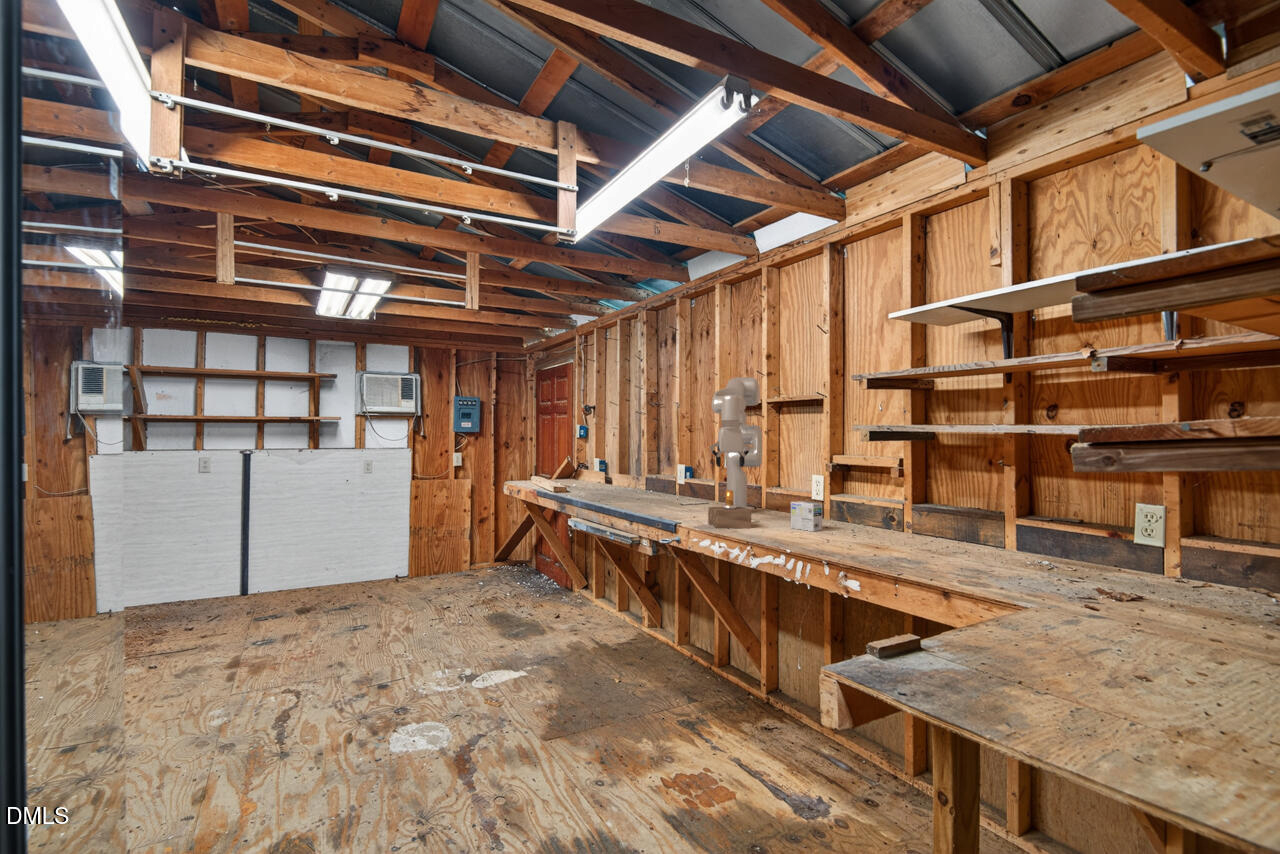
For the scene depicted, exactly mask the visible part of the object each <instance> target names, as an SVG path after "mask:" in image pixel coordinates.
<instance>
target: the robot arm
mask: <svg viewBox="0 0 1280 854" xmlns="http://www.w3.org/2000/svg"><path fill="white" fill-rule="evenodd" d="M760 393H761V391H760V385H759V381H758V380H757V378H755V377H752V376H749V377H746V376H745V377H744V376H743V377H742V376H741V377H739V376H736V377H732V378H731V379H729V380H728V381H727V383H726V387H723V388H721V389H719V390H716V391H715V392H714V393H713V396H712V400H711V410H712V411H713V413H714V414H721V415H720V420H721V422H720V424H721V425H720V428H719V429H718V432H717V442H715V443H714V444H712V445H710V446H709V450H710V451H711V453H712V454H713V456H714V457H715V465H716V467H717V468H720V467H721V463H722V461H721V460H722V457H721V455H722V454H723V453H724V457H725V464H726V466H725V467H726V490H733V505H736V507H743V508H745V509H748V505H747V503H748V492H747V491H748V476H747V474H746V472H745V471H744V470H743V469H742V468H759V467H761V465H762V463H763V431H762V428H761V426H760V425H757V424H747V418H748V417H747V413H746V412H745V410H746V407H747V406H750V407H751V406H752V407H753V406H757V405H759V403H760V400H761V394H760ZM715 448H716V450H717V451H716V450H715Z"/></svg>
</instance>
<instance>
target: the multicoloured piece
mask: <svg viewBox="0 0 1280 854" xmlns="http://www.w3.org/2000/svg"><path fill="white" fill-rule="evenodd" d="M722 507H723V509H726V510H735V509H736V505H733V490H727V489H726V490H725V504H722Z"/></svg>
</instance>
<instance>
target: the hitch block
mask: <svg viewBox="0 0 1280 854" xmlns="http://www.w3.org/2000/svg"><path fill="white" fill-rule="evenodd" d="M707 508H708V510H707V511H708V512H707V513H708V516H707V517H708V519H707V521H708V522H707V524H708V525H710V526H712V525H713V526H715V527H716V528H715V527H714V528H715V529H717V528H735V529H752V510H751V509H748V508H747V509H745V508H743V507H736V509H735V510H726V509H723V506H708V507H707ZM713 526H712V527H713Z"/></svg>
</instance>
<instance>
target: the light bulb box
mask: <svg viewBox="0 0 1280 854" xmlns="http://www.w3.org/2000/svg"><path fill="white" fill-rule="evenodd" d="M791 528H794V529H793V530H798V529H801V530H800V531H805V530H808V532H812V531H814V532H818V530H820V531H822V530H823V503H821V502H820V503H819V502H811V501H801V500H800V501H791V502H790V529H791Z"/></svg>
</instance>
